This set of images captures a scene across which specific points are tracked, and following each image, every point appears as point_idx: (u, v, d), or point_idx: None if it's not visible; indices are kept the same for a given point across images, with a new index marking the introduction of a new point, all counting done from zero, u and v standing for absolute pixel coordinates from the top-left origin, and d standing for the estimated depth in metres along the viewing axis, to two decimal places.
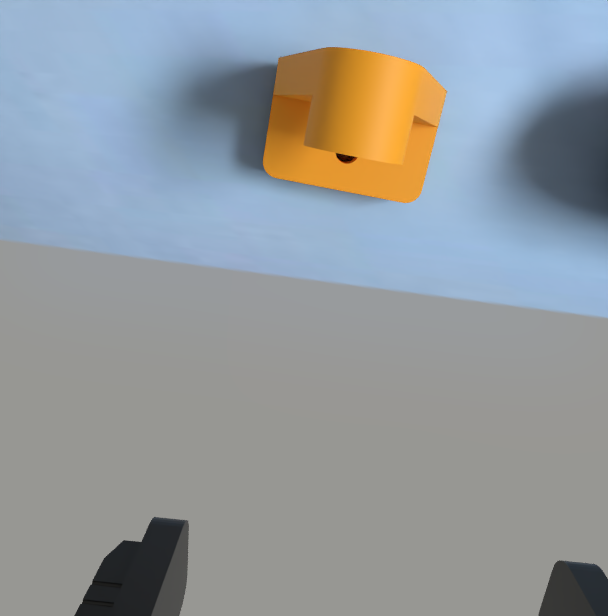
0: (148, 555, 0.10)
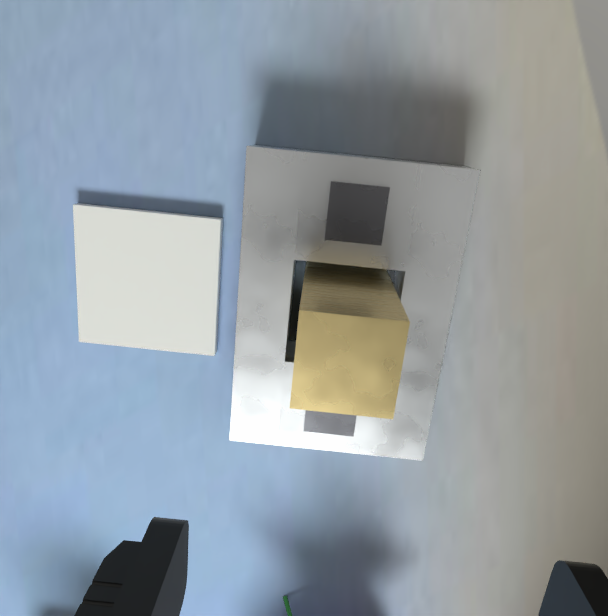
0: (148, 555, 0.10)
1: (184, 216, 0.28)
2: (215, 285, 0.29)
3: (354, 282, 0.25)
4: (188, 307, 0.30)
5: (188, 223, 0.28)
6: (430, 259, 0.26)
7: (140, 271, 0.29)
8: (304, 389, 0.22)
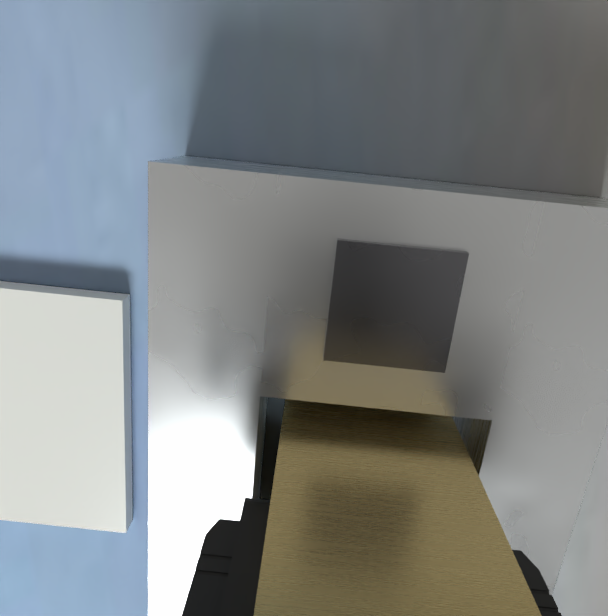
0: (249, 530, 0.11)
1: (52, 293, 0.15)
2: (119, 417, 0.16)
3: (387, 454, 0.12)
4: (73, 453, 0.16)
5: (60, 308, 0.15)
6: (545, 398, 0.12)
7: None
8: None
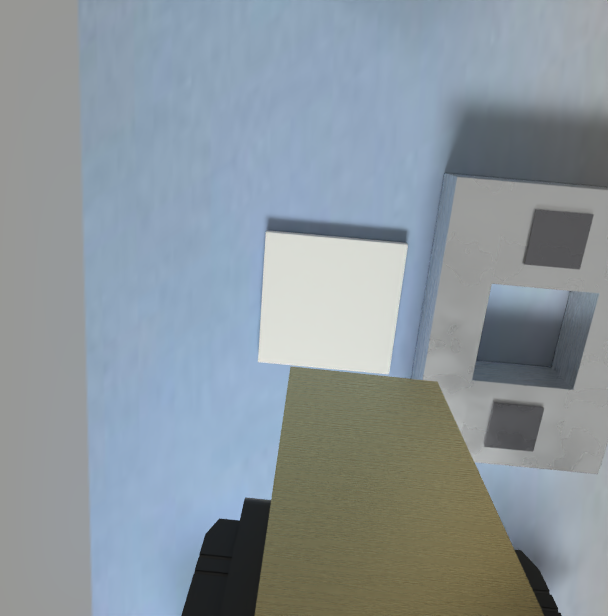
0: (249, 531, 0.11)
1: (372, 242, 0.29)
2: (396, 307, 0.30)
3: (388, 453, 0.12)
4: (368, 328, 0.31)
5: (375, 249, 0.29)
6: None
7: (324, 294, 0.30)
8: None
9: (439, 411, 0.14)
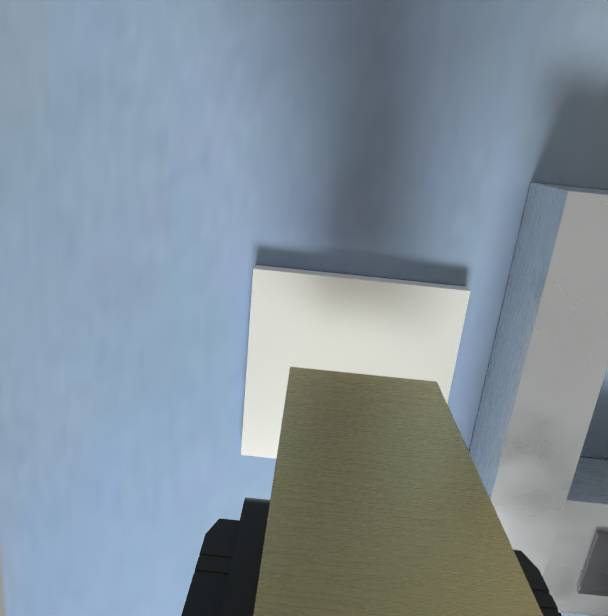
0: (249, 530, 0.11)
1: (415, 285, 0.19)
2: (448, 381, 0.20)
3: (387, 453, 0.12)
4: None
5: (421, 296, 0.19)
6: None
7: (341, 361, 0.20)
8: None
9: (438, 411, 0.14)
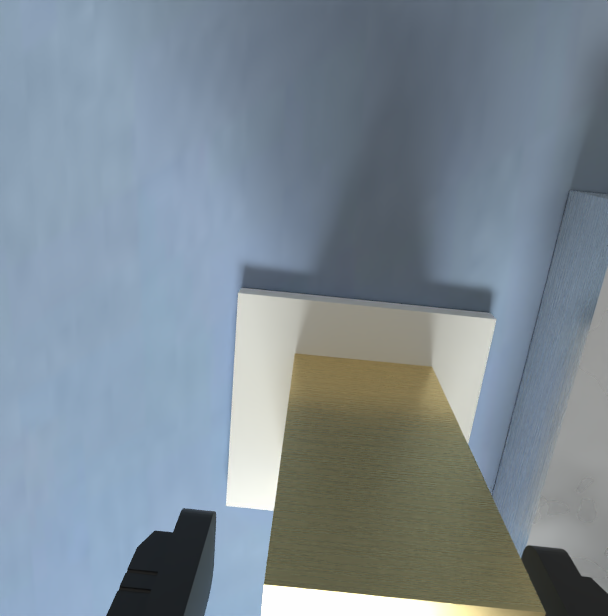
0: (181, 544, 0.10)
1: (431, 313, 0.16)
2: (468, 424, 0.17)
3: (385, 428, 0.13)
4: None
5: (437, 325, 0.16)
6: None
7: None
8: None
9: (433, 392, 0.15)
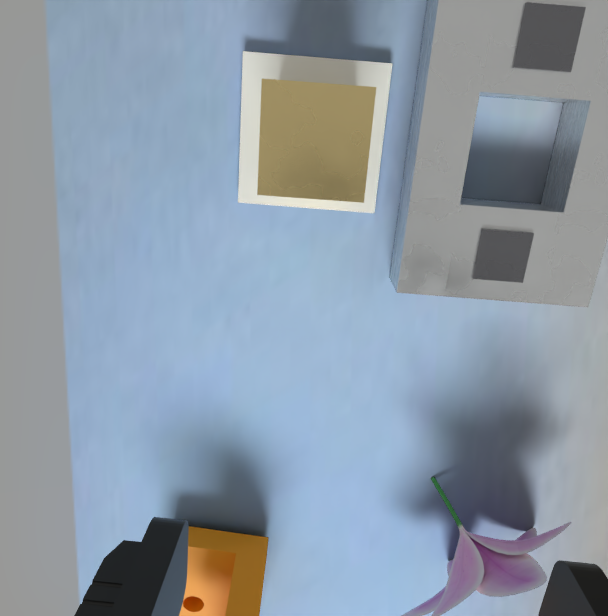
0: (148, 555, 0.10)
1: (355, 61, 0.28)
2: (381, 136, 0.29)
3: None
4: None
5: (359, 69, 0.28)
6: None
7: None
8: (271, 172, 0.21)
9: None
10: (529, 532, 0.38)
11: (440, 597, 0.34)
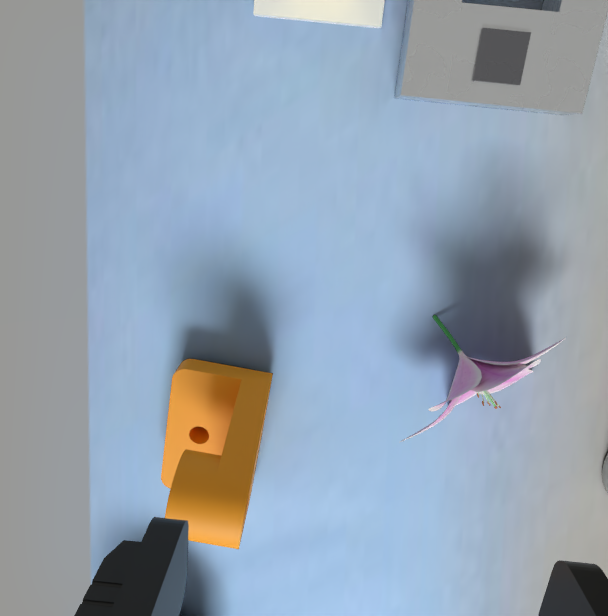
0: (148, 555, 0.10)
1: None
2: None
3: None
4: None
5: None
6: None
7: None
8: None
9: None
10: None
11: (439, 416, 0.36)
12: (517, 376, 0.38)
